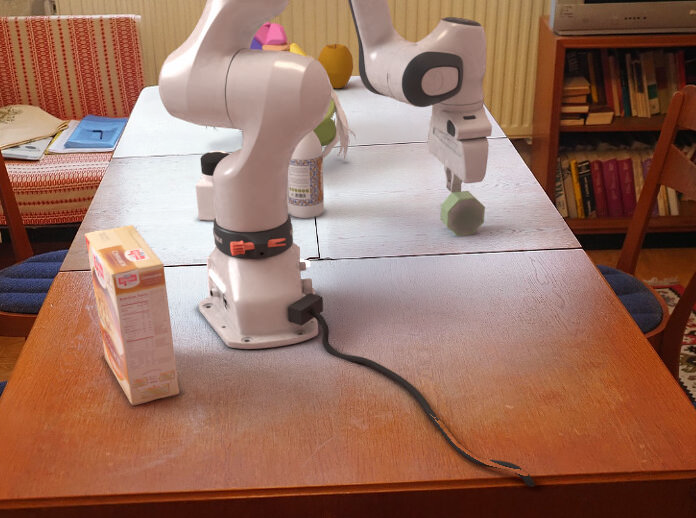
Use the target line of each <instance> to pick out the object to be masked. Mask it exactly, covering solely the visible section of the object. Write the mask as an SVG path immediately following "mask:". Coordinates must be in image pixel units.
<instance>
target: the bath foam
mask: <svg viewBox="0 0 696 518" xmlns="http://www.w3.org/2000/svg"><path fill="white" fill-rule="evenodd" d="M324 191H325V190H324V159H323V147H322V146H321V143H320V141H319V139H318V137H317V135H316V134H315V133H314V131H313V130H312V131H311V132H309V133H308V134H307V135H306V136H305V137H304V138H303V139H302V140H301V141H300V143H299V144H298V146H297V147H296V149H295V151H294V153H293V155H292V158H291V161H290V165H289V170H288V192H287V197H288V214H289V215H290V216H292V217H294V218H298V219H299V218H300V219H309V218H315V217H318V216H320V215H321V214H323V212H324V210H325V201H324V199H325V198H324V197H325V193H324Z"/></svg>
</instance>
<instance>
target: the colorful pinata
mask: <svg viewBox="0 0 696 518" xmlns="http://www.w3.org/2000/svg"><path fill="white" fill-rule="evenodd" d="M250 49H257V50H274V51H288V52H292V53H296V54H299V55H303V56H306V57H309V58H312V59H314V58H313V57H312V56H311V55H310V54H309V53H308V54H307V53H306V52H305V51H304V50H303V49H302V48H301V47H300V46H299V45H298V44H297V43H296V42H293V43H292V42H290V40H288V36H287V34H286V31H285V28H284V26H283V25H281V24H279V23H276V22H273V23H271V21H269V22H267V23H265V24H264V25H262V26H261V27H260V29H259V30H258V31H257V33H256V34H255V36H254V38H253V40H252V43H251V47H250ZM330 84H331V83H330ZM334 115H335V118H334V119H333V117H334ZM205 129H206V130H207V129H208V126H205ZM213 129H214V130H216V131H219V130H218V129H217V127H213ZM313 131H314V133H315V134H316V135H317V137H318V139H319V141H320V143H321V146H322V148H323V147H324V149H322V152H323V160H324V159H326V157H328V155H329V154H330V153H331V151H332V150H333V148H334V147H335V146H336V145H337V144H338V143H339V151H338V154H337V157H340V155H341V154H342V155H343V160H345V158H346V155H347V153H348V149H349V145H350V142H351V139H350V135H351V136H353V137H356V134H355V132H354V131H353V130H352V129H351V128H350V127H349V123H348V118H347V115H346V113H345V111H344V109H343V108H342V106H341V102H340V99H339V96H338V95H337V94H336V92H335V90H334V88H333V87H332V85H331V102H330V106H329V109H328V112H327V114H326V116H325V117H324V119H323V120H322V122H321V123H320V124H319V125H318V126H317V127H316V128H315V129H313ZM349 134H350V135H349ZM355 140H356V138H355Z"/></svg>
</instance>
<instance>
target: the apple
mask: <svg viewBox="0 0 696 518" xmlns="http://www.w3.org/2000/svg"><path fill="white" fill-rule="evenodd" d="M353 58H354V57H353V54H352V53H351V51H350V49H349V48H348V47H347V46H346V45H344V44H340V43H337V42H336V43H334V44H326V45H325V46H324V47H322V49H321V51H320V53H319V55H318V57H317V60H318V61H319V62H320V63H321V64H322V66H323V67H324V69H325V70H326V72H327V74H328V77H329V80H330V83H331V85H332V87H333V89H341V88H342V89H343V88H345V87H346V85H348V83H349V81H350V79H351V78H352V74H353V71H354V59H353Z"/></svg>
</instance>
